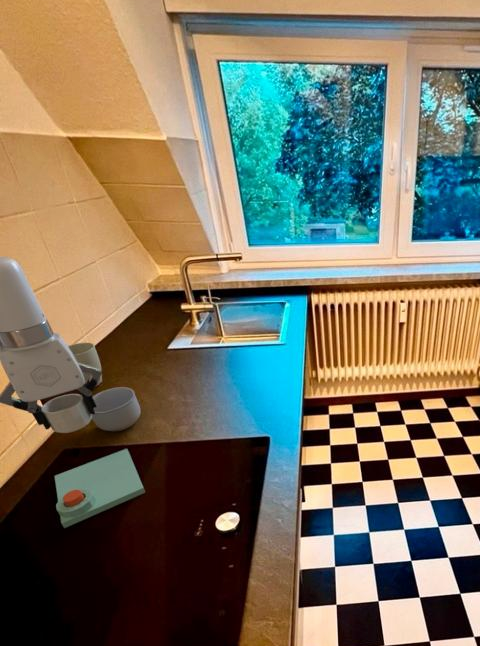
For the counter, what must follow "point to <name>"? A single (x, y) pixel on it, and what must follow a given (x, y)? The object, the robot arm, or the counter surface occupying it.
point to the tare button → (73, 498)
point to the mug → (86, 357)
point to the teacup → (116, 409)
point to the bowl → (67, 413)
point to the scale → (98, 486)
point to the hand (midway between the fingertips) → (70, 417)
